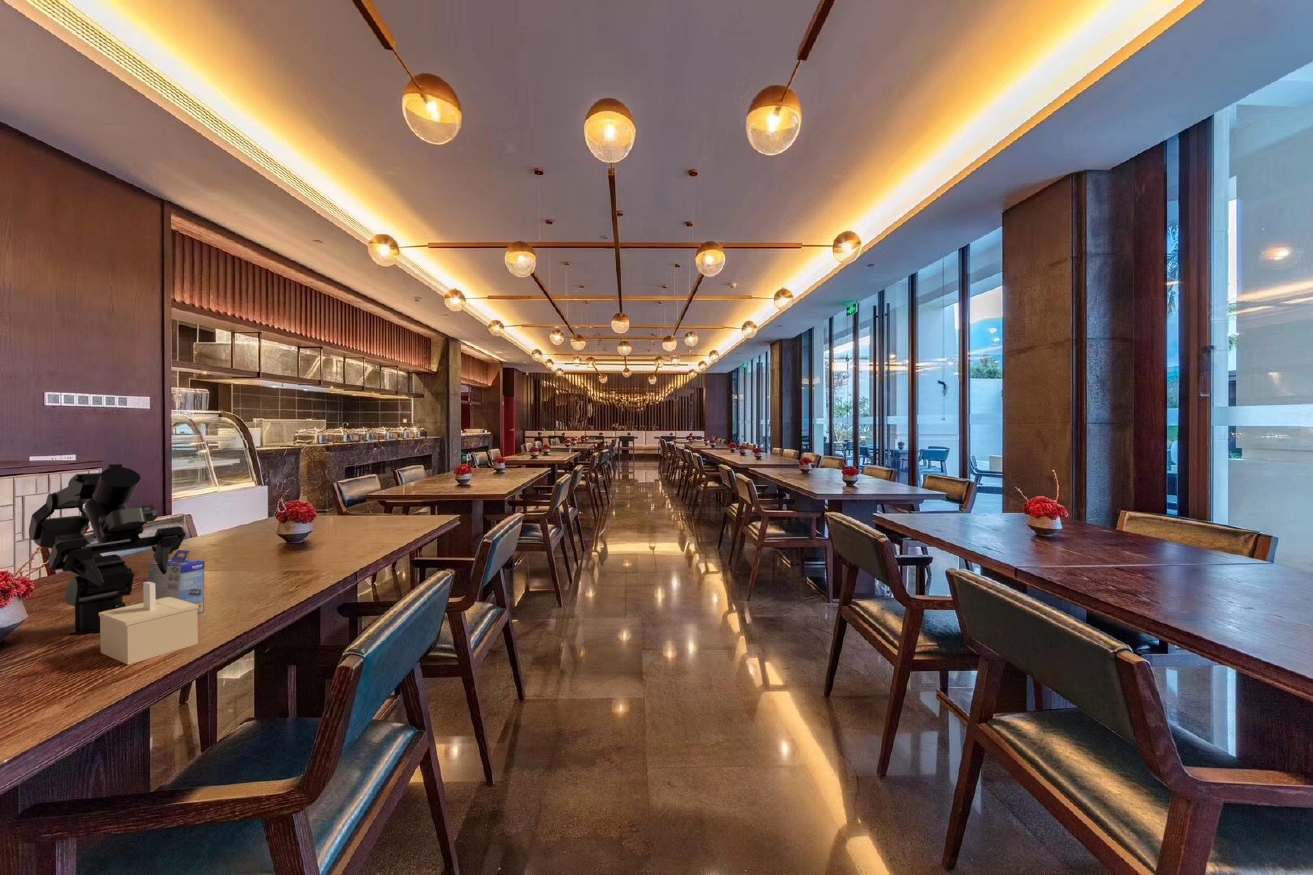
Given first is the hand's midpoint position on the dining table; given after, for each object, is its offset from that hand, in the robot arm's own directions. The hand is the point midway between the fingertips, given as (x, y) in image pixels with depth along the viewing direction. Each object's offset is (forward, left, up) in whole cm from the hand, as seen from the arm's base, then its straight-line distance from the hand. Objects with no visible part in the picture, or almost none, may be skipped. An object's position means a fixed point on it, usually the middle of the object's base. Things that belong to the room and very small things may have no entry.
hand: (134, 578), depth 100 cm
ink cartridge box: (-2, +18, -13) cm, 22 cm away
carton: (+4, -4, -13) cm, 14 cm away
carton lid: (+4, -4, -6) cm, 9 cm away
